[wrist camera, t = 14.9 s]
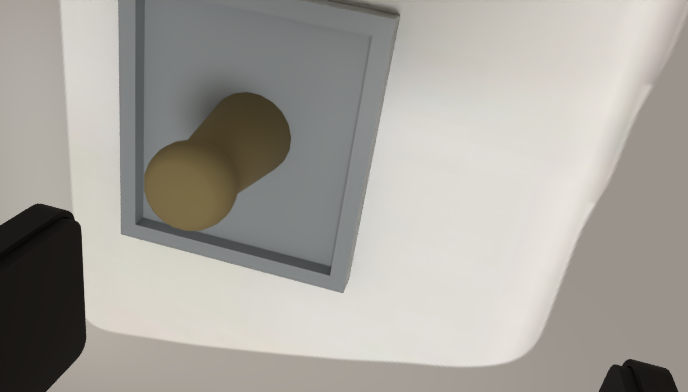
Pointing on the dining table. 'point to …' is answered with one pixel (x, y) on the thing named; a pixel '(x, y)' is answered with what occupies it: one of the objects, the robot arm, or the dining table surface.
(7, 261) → the robot arm
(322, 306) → the dining table surface
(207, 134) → the brown pawn
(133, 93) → the slate tray
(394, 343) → the dining table surface
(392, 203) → the dining table surface
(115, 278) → the dining table surface
